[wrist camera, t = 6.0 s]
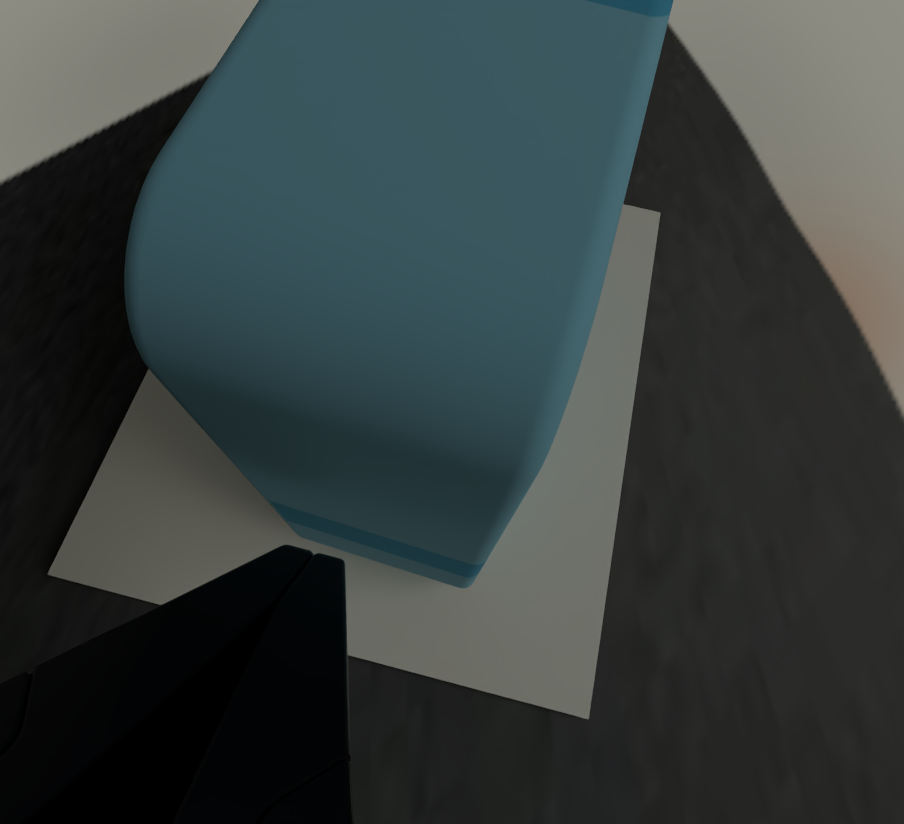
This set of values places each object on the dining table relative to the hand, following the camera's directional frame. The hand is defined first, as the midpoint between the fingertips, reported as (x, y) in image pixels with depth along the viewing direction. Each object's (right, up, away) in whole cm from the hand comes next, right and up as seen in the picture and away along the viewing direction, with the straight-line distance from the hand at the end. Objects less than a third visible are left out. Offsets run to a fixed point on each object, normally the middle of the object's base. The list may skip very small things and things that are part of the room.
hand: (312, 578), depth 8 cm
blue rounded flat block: (+2, +3, +10) cm, 11 cm away
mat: (0, +3, +11) cm, 11 cm away
